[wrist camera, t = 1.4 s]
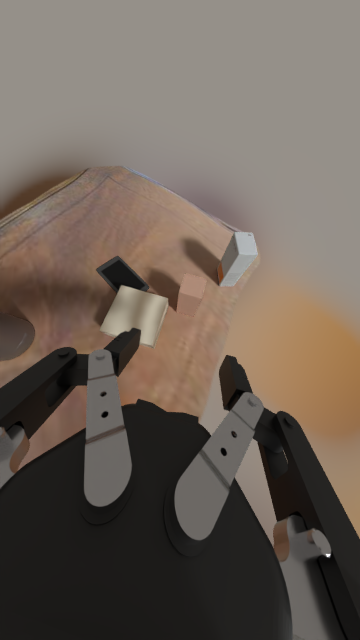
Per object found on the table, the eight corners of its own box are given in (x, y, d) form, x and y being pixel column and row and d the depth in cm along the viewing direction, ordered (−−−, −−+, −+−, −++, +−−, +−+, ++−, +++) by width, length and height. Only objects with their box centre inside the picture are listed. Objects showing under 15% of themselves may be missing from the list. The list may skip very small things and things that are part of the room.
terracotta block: (176, 312, 36) (178, 292, 26) (181, 297, 37) (185, 273, 28) (193, 317, 36) (202, 298, 26) (197, 301, 37) (207, 279, 28)
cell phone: (118, 256, 40) (117, 254, 40) (150, 288, 38) (150, 287, 37) (96, 271, 38) (94, 269, 38) (128, 305, 36) (127, 304, 35)
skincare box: (216, 268, 41) (234, 230, 30) (230, 269, 41) (253, 231, 30) (218, 287, 39) (238, 253, 28) (233, 287, 39) (259, 254, 28)
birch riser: (109, 335, 33) (99, 330, 28) (127, 295, 37) (121, 285, 32) (154, 348, 33) (151, 345, 28) (168, 307, 36) (168, 298, 32)
